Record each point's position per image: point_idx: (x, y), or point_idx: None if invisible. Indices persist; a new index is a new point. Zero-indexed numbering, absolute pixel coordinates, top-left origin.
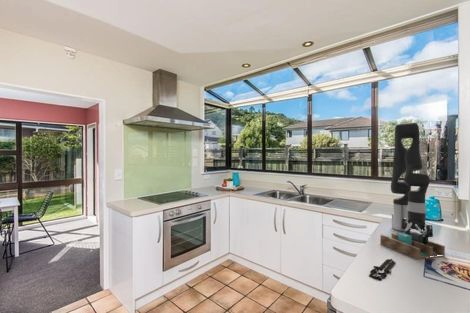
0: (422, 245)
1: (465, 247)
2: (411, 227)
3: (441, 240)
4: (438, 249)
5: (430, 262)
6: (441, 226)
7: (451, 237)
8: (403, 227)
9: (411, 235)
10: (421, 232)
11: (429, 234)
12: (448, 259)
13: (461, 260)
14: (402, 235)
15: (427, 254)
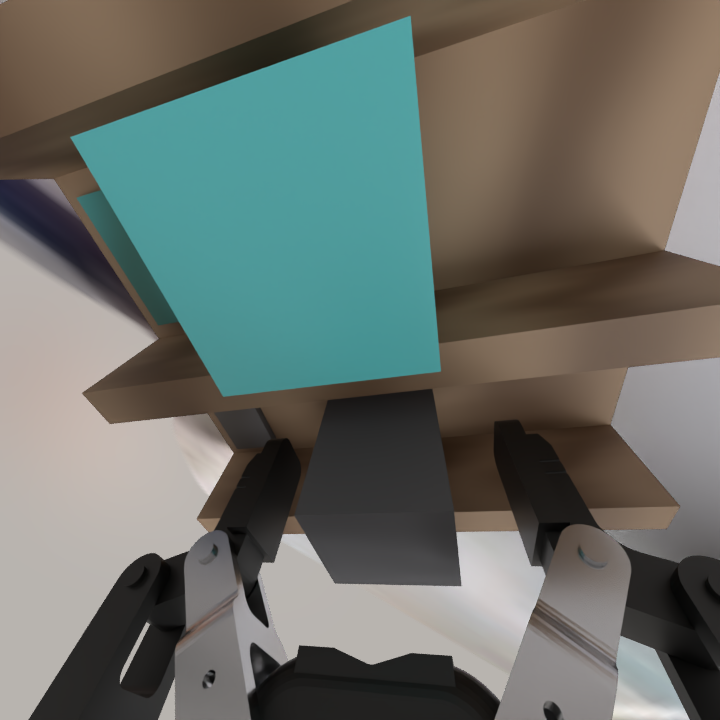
0: (173, 373)
1: (388, 603)
2: (470, 707)
3: (497, 603)
4: None
5: (38, 234)
6: (647, 702)
7: (515, 646)
8: (710, 617)
9: (408, 470)
10: (209, 615)
11: (97, 621)
12: (188, 431)
13: (197, 480)
14: (193, 97)
15: (181, 335)
